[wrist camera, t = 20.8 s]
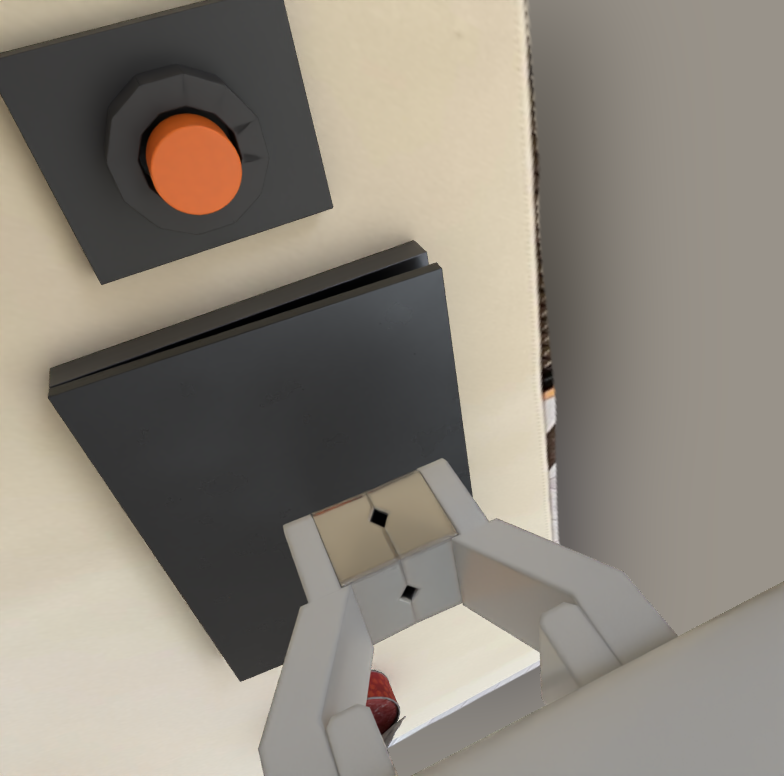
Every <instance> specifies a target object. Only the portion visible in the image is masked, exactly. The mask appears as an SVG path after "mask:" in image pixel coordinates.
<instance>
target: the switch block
mask: <svg viewBox="0 0 784 776" xmlns="http://www.w3.org/2000/svg"><path fill="white" fill-rule="evenodd" d="M0 94H1V96H2V98H3V100H4V102H5V103H6V105H7V107H8V109H9V111H10V113H11V115H12V117H13V119H14V121H15V122H16V124H17V126H18V128H19V130H20V132H21V134H22V136H23V138H24V139H25V141H26V143H27V145H28V147H29V149H30V151H31V153H32V155H33V157H34V158H35V160H36V162H37V164H38V166H39V168H40V170H41V172H42V174H43V175H44V177H45V179H46V181H47V183H48V185H49V187H50V189H51V191H52V192H53V194H54V196H55V198H56V200H57V202H58V204H59V206H60V208H61V210H62V211H63V213H64V215H65V217H66V219H67V221H68V223H69V225H70V227H71V228H72V230H73V232H74V234H75V236H76V238H77V240H78V242H79V244H80V246H81V247H82V249H83V251H84V253H85V255H86V257H87V259H88V261H89V263H90V264H91V266H92V268H93V270H94V272H95V274H96V276H97V278H98V280H99V281H100V283H101V285H103V284H106V283H109V282H112V281H115V280H118V279H121V278H124V277H127V276H130V275H133V274H136V273H139V272H142V271H145V270H148V269H151V268H154V267H157V266H160V265H163V264H166V263H169V262H172V261H175V260H178V259H181V258H184V257H187V256H190V255H193V254H196V253H199V252H202V251H205V250H208V249H211V248H214V247H217V246H220V245H223V244H226V243H229V242H232V241H235V240H238V239H241V238H244V237H247V236H250V235H253V234H257V233H260V232H263V231H266V230H269V229H272V228H275V227H278V226H281V225H284V224H287V223H290V222H293V221H296V220H299V219H302V218H305V217H308V216H311V215H314V214H317V213H320V212H323V211H326V210H329V209H332V208H333V204H332V200H331V196H330V192H329V188H328V184H327V179H326V175H325V171H324V167H323V163H322V159H321V154H320V150H319V146H318V142H317V138H316V134H315V130H314V125H313V121H312V117H311V113H310V109H309V105H308V100H307V96H306V92H305V88H304V84H303V80H302V75H301V71H300V67H299V63H298V59H297V55H296V51H295V46H294V42H293V38H292V34H291V30H290V26H289V21H288V17H287V13H286V9H285V5H284V1H283V0H205V1H201V2H198V3H194V4H190V5H186V6H182V7H178V8H174V9H170V10H166V11H162V12H159V13H155V14H151V15H147V16H143V17H139V18H135V19H131V20H127V21H124V22H120V23H116V24H112V25H108V26H104V27H100V28H96V29H92V30H88V31H85V32H81V33H77V34H73V35H69V36H65V37H61V38H57V39H53V40H50V41H46V42H42V43H38V44H34V45H30V46H26V47H22V48H18V49H14V50H11V51H7V52H3V53H0ZM182 113H191V114H197V115H200V116H203V117H205V118H208V119H209V120H211V121H213V122H214V123H215V124H216V125H218V126H219V127H220V128H221V129H222V130H223V132H224V133H225V135H226V136H227V137H228V139H229V140H230V142H231V143H232V144H233V146H234V147H235V149H236V151H237V153H238V155H239V157H240V161H241V165H242V179H241V184H240V187H239V190H238V192H237V194H236V195H235V197H234V198H233V199H232V201H231V202H230V203H229V204H228V205H226V206H225V207H224V208H222V209H220V210H218V211H216V212H214V213H210V214H205V215H192V214H187V213H183V212H181V211H178V210H176V209H175V208H173V207H171V206H170V205H168V204H167V203H166V202H165V201H164V200H163V199H162V198H161V197H160V195H159V194H158V192H157V191H156V189H155V187H154V185H153V182H152V179H151V176H150V172H149V169H148V166H147V162H146V145H147V141H148V138H149V136H150V134H151V132H152V131H153V129H154V128H155V127H156V126H157V125H158V124H159V123H160V122H161V121H163V120H164V119H166V118H168V117H170V116H173V115H176V114H182Z"/></svg>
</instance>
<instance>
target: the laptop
mask: <svg viewBox="0 0 784 776" xmlns="http://www.w3.org/2000/svg"><path fill="white" fill-rule="evenodd" d="M427 265H429V263H428V256H427V252H426V251H425V250H424V249H423V248H422V247H421V246H420V245H419V244H418V243H417V242H415V241H411V242H408V243H406V244H403V245H400V246H397V247H394V248H391V249H389V250H386V251H383V252H380V253H377V254H374V255H371V256H369V257H366V258H363V259H360V260H357V261H354V262H352V263H349V264H346V265H343V266H340V267H337V268H335V269H332V270H329V271H326V272H323V273H320V274H317V275H315V276H312V277H309V278H306V279H303V280H300V281H298V282H295V283H292V284H289V285H286V286H283V287H281V288H278V289H275V290H272V291H269V292H266V293H263V294H261V295H258V296H255V297H252V298H249V299H246V300H244V301H241V302H238V303H235V304H232V305H229V306H227V307H224V308H221V309H218V310H215V311H212V312H210V313H207V314H204V315H201V316H198V317H195V318H192V319H190V320H187V321H184V322H181V323H178V324H175V325H173V326H170V327H167V328H164V329H161V330H158V331H156V332H153V333H150V334H147V335H144V336H141V337H138V338H136V339H133V340H130V341H127V342H124V343H121V344H119V345H116V346H113V347H110V348H107V349H104V350H102V351H99V352H96V353H93V354H90V355H87V356H85V357H82V358H79V359H76V360H73V361H70V362H67V363H65V364H62V365H59V366H56V367H53V368H51V369H50V381H49V388H53V387H56V386H59V385H62V384H65V383H68V382H71V381H74V380H77V379H81V378H84V377H87V376H90V375H93V374H96V373H99V372H102V371H105V370H108V369H111V368H114V367H117V366H120V365H123V364H127V363H130V362H133V361H136V360H139V359H142V358H145V357H148V356H151V355H154V354H157V353H160V352H163V351H166V350H169V349H173V348H176V347H179V346H182V345H185V344H188V343H191V342H194V341H197V340H200V339H203V338H206V337H209V336H212V335H215V334H219V333H222V332H225V331H228V330H231V329H234V328H237V327H240V326H243V325H246V324H249V323H252V322H255V321H258V320H261V319H265V318H268V317H271V316H274V315H277V314H280V313H283V312H286V311H289V310H292V309H295V308H298V307H301V306H304V305H307V304H311V303H314V302H317V301H320V300H323V299H326V298H329V297H332V296H335V295H338V294H341V293H344V292H347V291H350V290H353V289H357V288H360V287H363V286H366V285H369V284H372V283H375V282H378V281H381V280H384V279H387V278H390V277H393V276H396V275H399V274H403V273H406V272H409V271H412V270H415V269H418V268H421V267H424V266H427Z"/></svg>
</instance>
